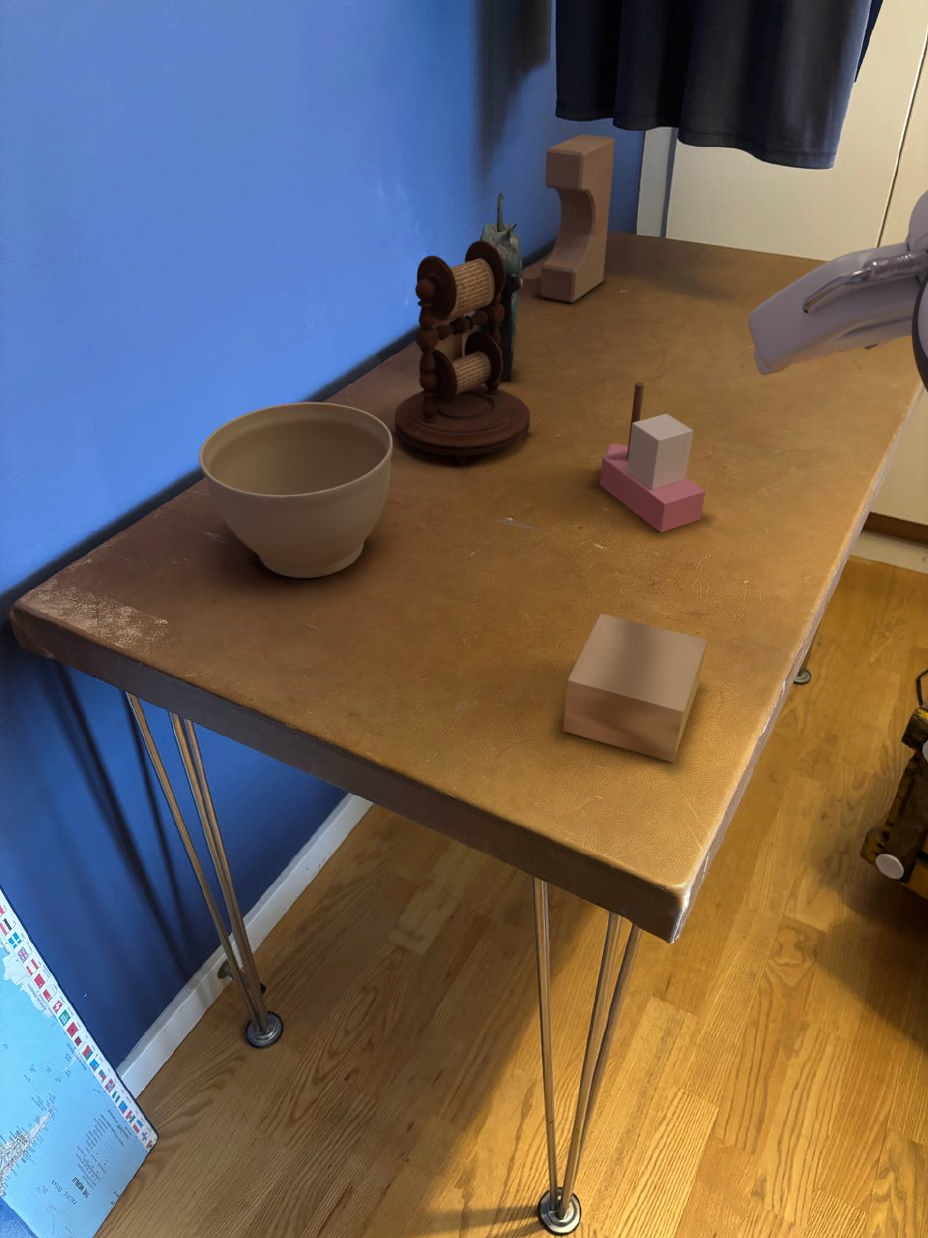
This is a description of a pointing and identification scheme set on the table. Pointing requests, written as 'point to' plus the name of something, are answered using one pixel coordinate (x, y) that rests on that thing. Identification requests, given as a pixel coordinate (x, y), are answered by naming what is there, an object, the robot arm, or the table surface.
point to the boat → (654, 470)
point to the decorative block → (578, 215)
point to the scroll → (461, 361)
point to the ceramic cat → (506, 284)
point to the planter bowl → (300, 483)
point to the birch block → (634, 686)
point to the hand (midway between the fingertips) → (817, 350)
